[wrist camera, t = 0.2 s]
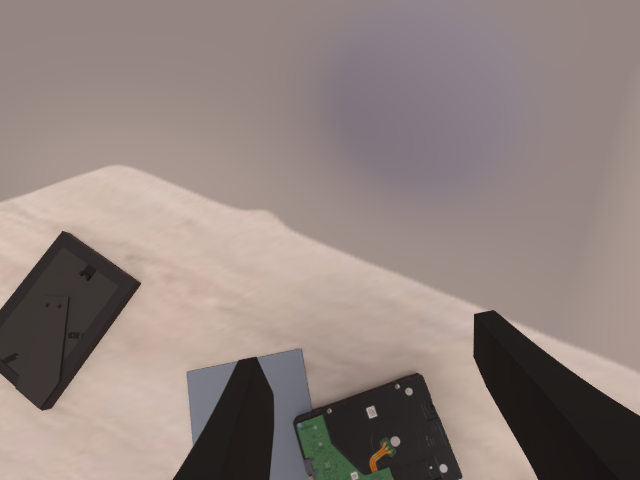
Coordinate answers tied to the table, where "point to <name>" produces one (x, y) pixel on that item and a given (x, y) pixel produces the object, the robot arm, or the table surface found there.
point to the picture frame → (59, 318)
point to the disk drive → (378, 436)
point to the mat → (288, 403)
